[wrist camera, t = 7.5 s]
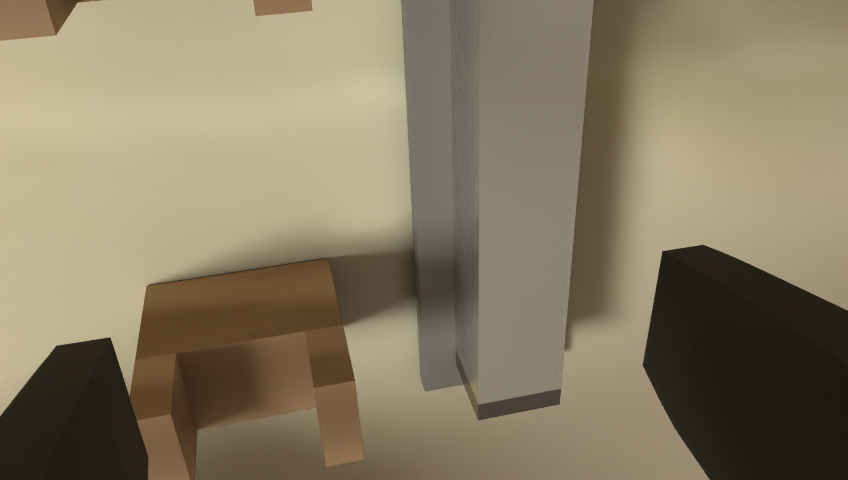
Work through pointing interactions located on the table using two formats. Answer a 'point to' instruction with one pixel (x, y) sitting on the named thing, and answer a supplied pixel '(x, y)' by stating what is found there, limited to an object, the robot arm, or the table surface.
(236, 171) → the table surface
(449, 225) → the gray bar
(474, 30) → the rail
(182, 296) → the cradle posts
